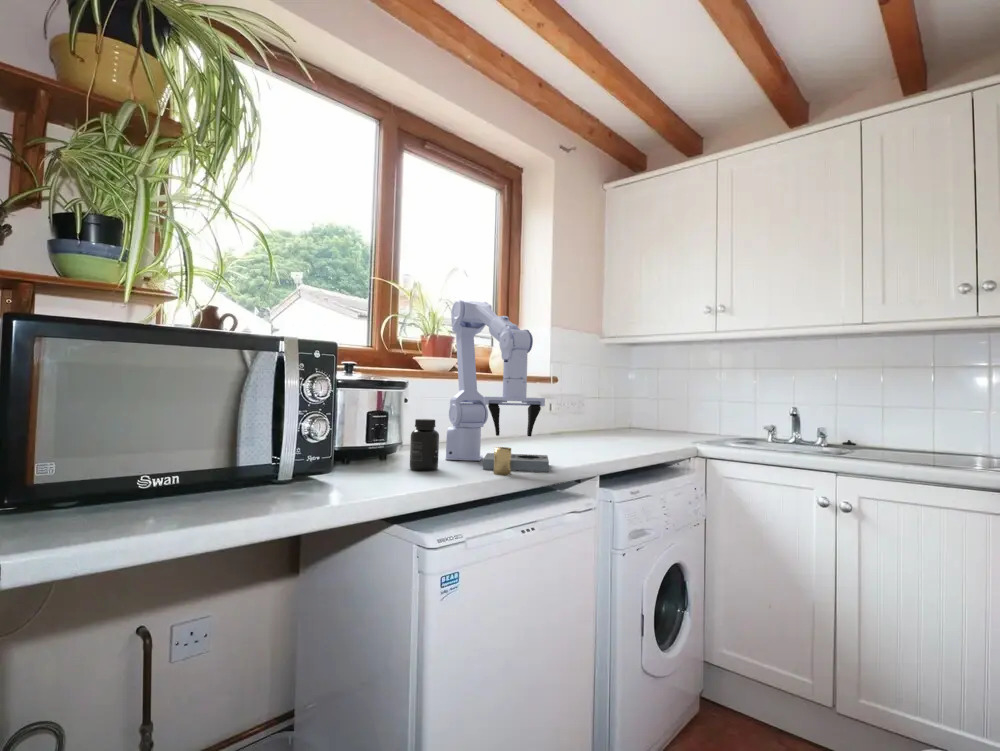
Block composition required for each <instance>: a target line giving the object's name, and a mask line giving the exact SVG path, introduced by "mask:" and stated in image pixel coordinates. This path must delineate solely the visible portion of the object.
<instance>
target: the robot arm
mask: <svg viewBox="0 0 1000 751" xmlns="http://www.w3.org/2000/svg"><path fill="white" fill-rule="evenodd" d="M450 314H451V315H450V317H451V318H450V319H451V329H452V331H453V332H454V333H455V340H456V345H455V346H456V359H457V360H456V361H457V376H458V377H457V378H458V380H457V382H458V392H457V393H456V394H455V395H454V396H453V397H451V398H450V401H449V410H448V419H449V421H450V423H451V425H452V426H448V427H447V431H446V442H445V444H446V446H445V448H446V449H445V460H447V461H448V460H450V461H475V462H476V461H477V462H478V461H479V462H481V460H483V458H484V456H483V455H481V443H482V441H481V440H482V428H484V426H485V424H486V423H487V421H488V419H489V412H490V415H491V417H492V420H493V424H494V425H493V426H494V430H495V435H496V436H497V437H499V436H500V412H501V408H500V406H521V407H522V406H528V407H527V437H532V434H533V429H534V425H535V423H536V422H537V421H536V420H537V418H538V416H539V414H540V413H541V410H542V408H541V407H545V406H546V398H545V397H527V392H528V391H527V388H528V384H527V382H528V356H529V355H528V353H530V351H532V348H533V343H534V338H533V337H534V336H533V334H532V333H531V332H530V330H529V329H520V328H519V327H518V325H517V324H515V323H513V322H512V321H510V320H509V319H510V317H508V315H499V316H498V315H497V314H496V312H495V311H493V309H492V305H491V304H489V302H487V301H484V302H481V301H476V300H475V301H474V300H467V299H461V298H458V299H456V300H455V301H454V303H453V304H452V308H451V311H450ZM486 326H487V327H488V332H489V334H490V335H491V336H492V337H493V338H494V339H495V340H496V341H497V342H498V344H499V348H500V353H501V359H502V361H503V374H502V375H503V376H502V396H483V395H482V394H481V393H480V392H479V391H478V387H477V386H478V385H477V383H478V382H477V367H476V352H475V350H476V349H475V336H476V335H478V334H480V333H481V332H482V331H483V330H484V328H486ZM518 402H521V403H518Z"/></svg>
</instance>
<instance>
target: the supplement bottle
mask: <svg viewBox="0 0 1000 751" xmlns="http://www.w3.org/2000/svg"><path fill="white" fill-rule="evenodd" d="M414 420H415V421H414V422H415V424H414V428H415V429H414V430H413V431H411V433H410V446H409V447H410V448H409V468H410V470H412V471H418V472H430V471H432V472H433V471H436V470H438V468H439V453H440V452H439V449H440V447H439V446H440V445H439V444H440V434H439V432H438V431H437V430H436V429H435V428H436V427H437V426H436V419H431V418H417V419H414Z"/></svg>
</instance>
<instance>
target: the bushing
mask: <svg viewBox="0 0 1000 751" xmlns="http://www.w3.org/2000/svg"><path fill="white" fill-rule="evenodd" d="M493 453H494V470H493V475H496V476H497V475H498V476H509V475H508V474H510V475H511V472H512V471H511V454H512V448H511V447H506V446H495V447H494V449H493Z"/></svg>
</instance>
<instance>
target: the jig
mask: <svg viewBox="0 0 1000 751" xmlns="http://www.w3.org/2000/svg"><path fill="white" fill-rule="evenodd" d="M549 460H550V459H549V457H548V455H547V454H522V453H511V470H518V471H517V472H537V471H540V472H539V473H542V472H543V473H549V470H550V468H549V466H550V465H549V464H550V461H549ZM482 462H483V463H482V470H485V471H489V470H490V471H491V470H492V471H494V452H487V453H486V454H485V456H483V458H482Z"/></svg>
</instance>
